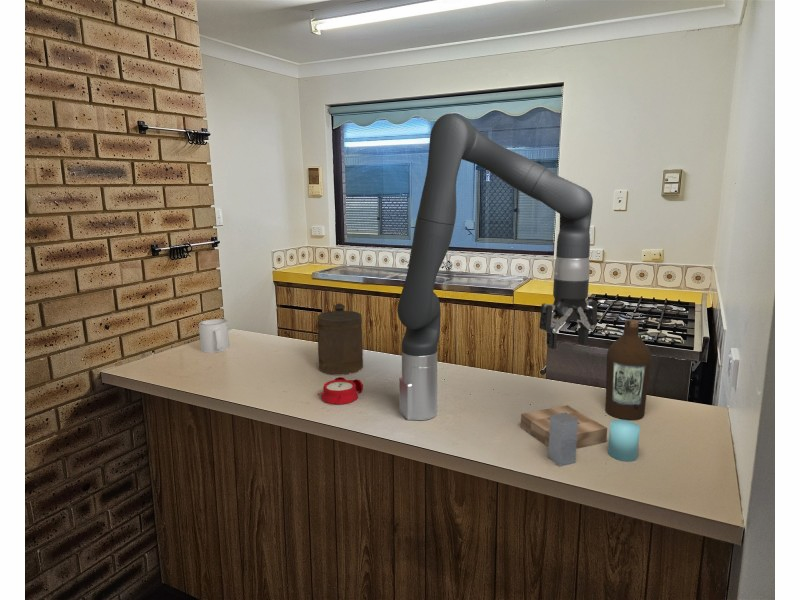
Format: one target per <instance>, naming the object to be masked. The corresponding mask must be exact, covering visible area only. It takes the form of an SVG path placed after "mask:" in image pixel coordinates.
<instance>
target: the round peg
mask: <svg viewBox="0 0 800 600" xmlns="http://www.w3.org/2000/svg"><path fill="white" fill-rule="evenodd" d="M609 422H610V423H609V434H608V446H607V454H608V456H609V457H611V458H613V459H614V460H616V461H619V462H624V463H625V462H626V463H628V462H629V463H631V462H635V461H637V460H638V453H639V446H640V445H639V441H640V433H641V427H640V425H639V424H638V423H636V422H633V421H632V420H625V419H613V420H611V421H609Z"/></svg>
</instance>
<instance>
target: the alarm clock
mask: <svg viewBox="0 0 800 600" xmlns="http://www.w3.org/2000/svg"><path fill="white" fill-rule="evenodd" d="M322 388H323V392H320V393H317V395H318V396H319V395H321V400H322V402H324V403H326V404H328V405H329V404H333V405H346V404H349V403H353V402H355V401H356V400H358V398H359V394H361V393H362V392H363V390H364V384H363V382H362V381H361V380H360V379H357V378H356V379H346V378H345V377H341V376H339V377H336V378H335V379H334V380H333V379H332V380H329V381H327V382H325V383H324V384H323V387H322ZM358 391H359V393H358Z"/></svg>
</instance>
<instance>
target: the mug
mask: <svg viewBox="0 0 800 600" xmlns="http://www.w3.org/2000/svg"><path fill="white" fill-rule="evenodd" d="M228 327H229V325H228V320H227V319H226V318H225V319H223V318H212V319H205V320H201V321H200V322H198V331H199V341H200V342H199V344H200V351H202V352H201V353H203V352H205V354H215V353H214V352H219V353H221V352H220V351H224V350H226V349H228V348H229V349H230V338H229V328H228ZM229 349H228V350H229ZM226 351H227V350H226ZM224 352H225V351H224Z"/></svg>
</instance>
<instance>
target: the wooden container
mask: <svg viewBox="0 0 800 600" xmlns="http://www.w3.org/2000/svg"><path fill="white" fill-rule="evenodd" d="M333 308H334V310H333V311H324V312H322V313H320V314H318V315H317V351H318V353H317V355H318V358H317V359H318V370H319V371H320V372H321V373H325V374H329V375H333V374H344V375H350V374H349V373H351V374H354V372H355V373H357V372H359V370H360V371H361V370H362V369H363V368H364V358H363V357H364V353H363V352H364V349H363V346H364V345H363V330H362V329H363V328H362V322H363V319H362V317H363V316H362V314H361V313H360V312H358V311H352V310H345V308H346V307H345V305H344V304H343V303H336V304H334V307H333Z"/></svg>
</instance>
